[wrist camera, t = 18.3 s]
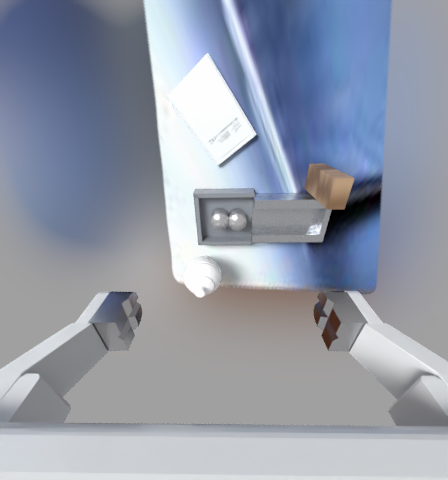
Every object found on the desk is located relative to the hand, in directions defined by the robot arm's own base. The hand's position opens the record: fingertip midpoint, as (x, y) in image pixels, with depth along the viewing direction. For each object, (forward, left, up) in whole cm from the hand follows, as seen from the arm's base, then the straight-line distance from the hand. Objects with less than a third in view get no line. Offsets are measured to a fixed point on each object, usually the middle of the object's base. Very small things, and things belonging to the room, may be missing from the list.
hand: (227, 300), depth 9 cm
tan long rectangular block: (+2, +16, -31) cm, 35 cm away
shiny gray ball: (+10, -1, -30) cm, 32 cm away
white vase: (+20, -5, -31) cm, 37 cm away
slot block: (+10, +12, -31) cm, 35 cm away
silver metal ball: (+10, +2, -30) cm, 32 cm away
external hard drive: (-7, -2, -32) cm, 33 cm away
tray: (+10, -1, -31) cm, 33 cm away
